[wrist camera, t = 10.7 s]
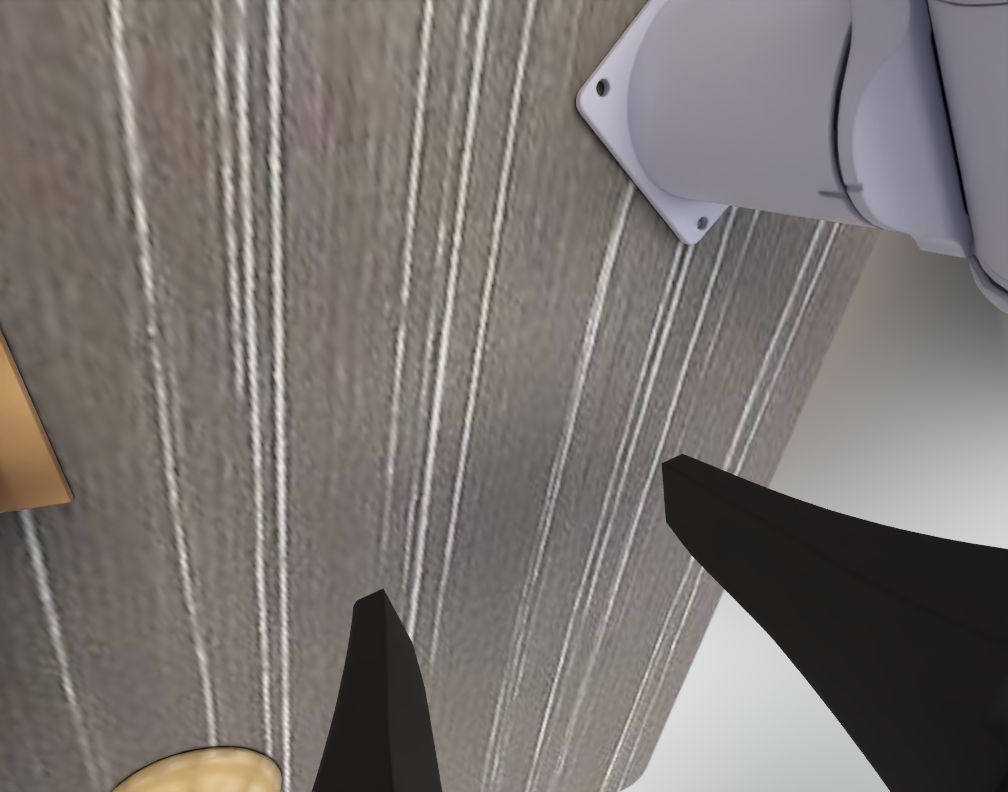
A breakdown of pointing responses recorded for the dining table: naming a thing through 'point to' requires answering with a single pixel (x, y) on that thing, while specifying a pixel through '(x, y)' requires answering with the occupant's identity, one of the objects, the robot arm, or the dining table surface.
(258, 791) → the hand bell
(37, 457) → the smooth tan mat
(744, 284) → the dining table surface
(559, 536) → the dining table surface
